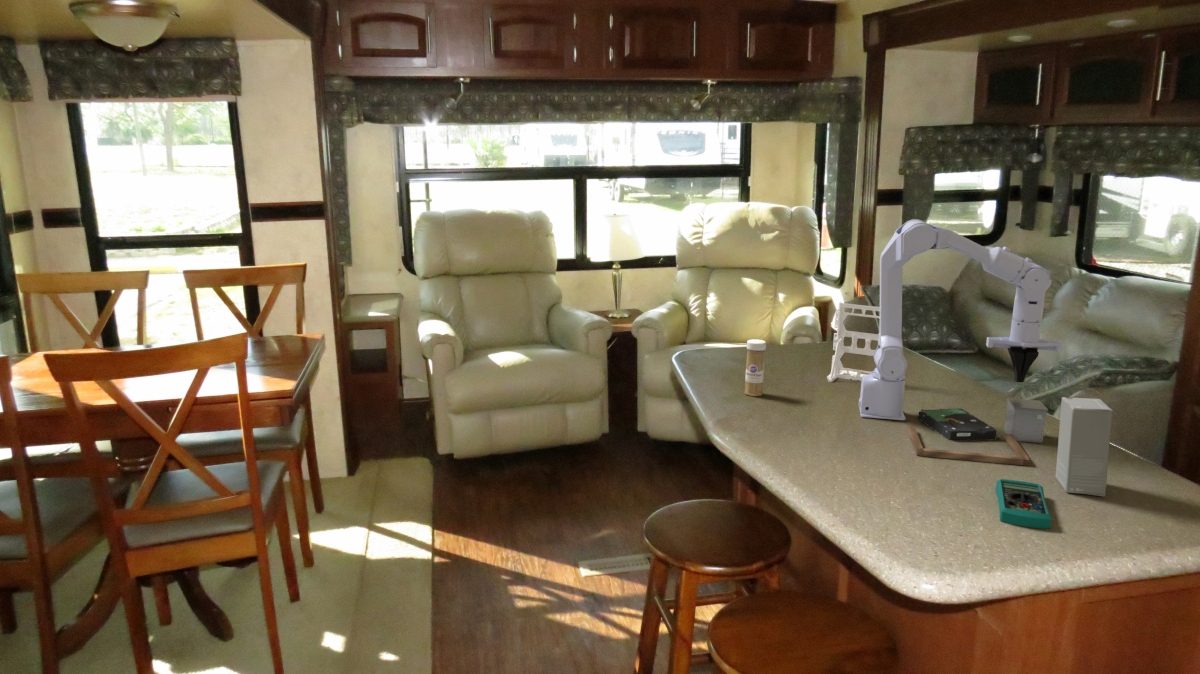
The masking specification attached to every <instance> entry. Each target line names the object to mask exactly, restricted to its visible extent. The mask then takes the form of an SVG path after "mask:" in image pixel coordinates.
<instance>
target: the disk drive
mask: <svg viewBox="0 0 1200 674" xmlns="http://www.w3.org/2000/svg"><path fill="white" fill-rule="evenodd" d="M918 418H919V421H921V420H922V421H923V422H922V421H921V422H922V423H924V422H925V423H926V425H927V424H928V425H929V426H928V425H927V426H928V427H930V428H931V427H932V428H931V429H932V430H934V431H935V430H936V433H938V432H939V433H938V434H940V435H941V434H942V435H943V436H942V435H941V436H942V437H943V438H945V439H947V440H948V441H950V440H963V441H995V440H997V434H998V430H997V429H996V428H994V427H993V426H991V425H990V424H988V423H986V422H985V421H983V420H982V419H979V418H978V417H976V416H975V415H973V414H972V413H970V412H968V411H967V410H965V409H963V408H939V409H938V408H937V409H923V408H922V409H920V411H918ZM918 418H917V419H918ZM925 423H924V424H925Z"/></svg>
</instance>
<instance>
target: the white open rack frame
mask: <svg viewBox="0 0 1200 674" xmlns="http://www.w3.org/2000/svg"><path fill="white" fill-rule="evenodd" d="M845 308H846V309H852V310H851V312H847V311H845ZM856 309H857V310H861V313H856V312H855V310H856ZM867 311H873V315H871V314H866V312H867ZM854 312H855V313H854ZM876 312H880V306H872V305H864V304H863V305H862V304H854V303H843V302H839V305H838V310H835V318H834V328H835V329H837V330H836V332H834V333H833V342H832V343H833V347H832V350H833V351H835V353H834V354H833V355H832V358H831V371H830V373H829V375H827V376H826V380H827V382H828V383H832V382H834V381H835V380H837V379H838V378H839V379H846V380H850V379H852V380H851V381H857V380H859V381H858V382H861V381H862V376H863V375H872V371H868V370H864V369H863V370H862V369H855V368H848V367H844V365H843V363H842V361H841V358H842V357H843V355H844V354H845V353H847V354H848V353H849V354H856V355H862V356H863V355H865V356H870V357H874V352H875V350H876V349H871V343H872V341H877V342H878V337H879V333H878V334H877V333H876V334H875V333H868V332H859V331H852V330H847V328H846V327H845V324H844V322H845V320H846V318H847V317H848V316H856V317H864V318H873V319H879V318H880V315H877V314H876ZM845 337H846V338H851V345H849V346H847V345H845V343H844V340H845ZM858 339H861V340H862V339H863V340H864V341H865V343H864V344H865V345H864V348H862V347H858V344H857V342H858V341H859V340H858Z"/></svg>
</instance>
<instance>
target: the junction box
mask: <svg viewBox="0 0 1200 674" xmlns="http://www.w3.org/2000/svg"><path fill="white" fill-rule="evenodd" d="M1006 402H1007V407H1006V414H1005V423H1004V433H1005V435H1006V434H1011V435H1013V436H1014V438H1015V439H1016V441H1017V442H1027V443H1035V444H1036V443H1039V444H1042V443H1043V441H1044V440H1043V438H1044V434H1045V433H1044V432H1045V427H1046V418H1047V413H1048V412H1049V409H1048V407H1046V405H1044V404H1043V402H1042V401H1041V400H1037V399H1024V398H1023V399H1022V398H1012V397H1011V398H1008V397H1007V398H1006Z"/></svg>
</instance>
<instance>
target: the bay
mask: <svg viewBox="0 0 1200 674" xmlns="http://www.w3.org/2000/svg"><path fill="white" fill-rule="evenodd" d="M907 427H908V428H907V432H908V434H909V437H910V440H911V443H912V446H913V448H914V449H913V450H914V452H915V454H916V456H919V457H926V458H927V457H929V458H938V459H940V458H941V459H947V460H948V459H949V460H950V459H951V460H961V461H971V462H972V461H973V462H981V463H983V462H984V463H992V464H993V463H994V464H1004V465H1005V464H1006V465H1015V466H1026V467H1030V465H1031V458H1030V456H1028V455H1027V453H1026V452H1025V450H1024V449H1023V448H1022V446H1021V445H1020V444H1019V441H1016V439H1015V438H1014V436H1013V435H1011V434H1006V433H1005V437H1004V440H1005V442H1006V443H1007V444H1008V446H1009V447H1010V448H1011V450H1012V451H1013V453H1014V455H1015V456H1014V455H1013V456H1012V455H1011V456H1010V455H1003V454H1001V455H1000V454H991V453H990V454H989V453H981V452H980V453H979V452H978V453H977V452H968V451H958V450H957V451H955V450H945V449H933V448H924V447H923V445H922V442H921V440H920V437H919V435H918V432H917V429H916V426H915V425H908V426H907Z"/></svg>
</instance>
